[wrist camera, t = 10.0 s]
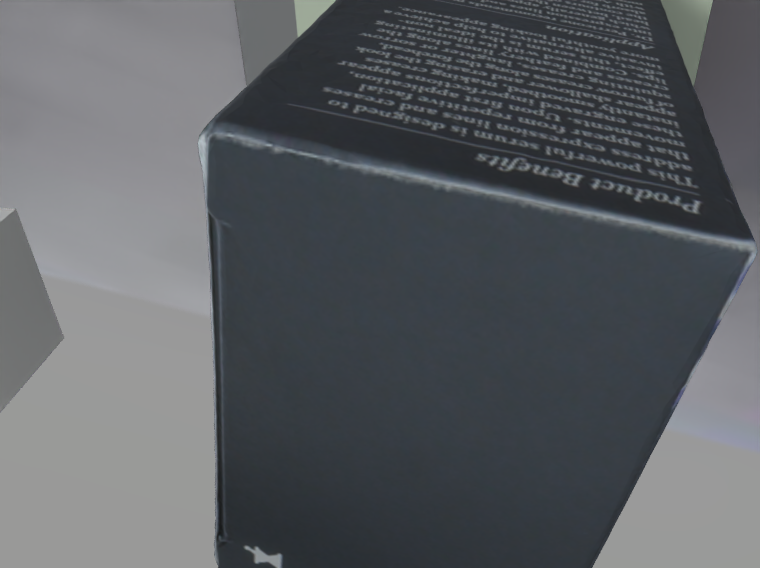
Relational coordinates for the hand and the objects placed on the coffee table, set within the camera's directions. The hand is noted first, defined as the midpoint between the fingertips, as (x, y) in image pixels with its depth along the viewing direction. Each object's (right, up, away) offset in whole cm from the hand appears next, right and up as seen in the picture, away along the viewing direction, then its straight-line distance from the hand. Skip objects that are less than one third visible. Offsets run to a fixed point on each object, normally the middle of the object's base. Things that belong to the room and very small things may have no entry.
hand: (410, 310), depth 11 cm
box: (+2, +4, +6) cm, 8 cm away
